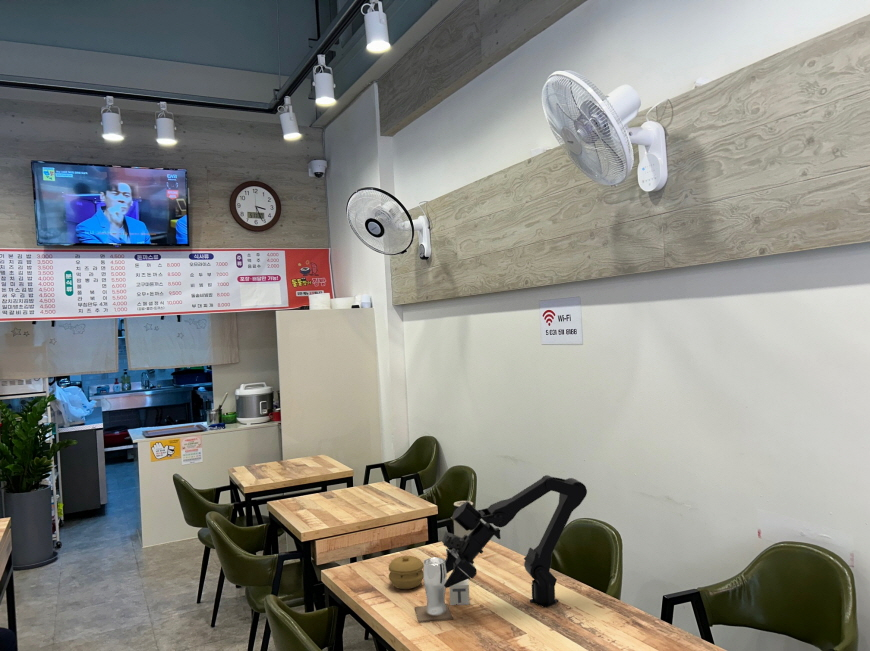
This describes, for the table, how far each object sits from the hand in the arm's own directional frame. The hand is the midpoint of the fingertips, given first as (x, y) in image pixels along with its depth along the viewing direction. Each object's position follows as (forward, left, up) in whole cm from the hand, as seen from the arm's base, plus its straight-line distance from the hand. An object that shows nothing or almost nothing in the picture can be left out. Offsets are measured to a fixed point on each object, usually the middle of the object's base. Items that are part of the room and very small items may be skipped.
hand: (442, 581), depth 193 cm
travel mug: (+37, -43, -10) cm, 58 cm away
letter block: (+3, -9, -9) cm, 14 cm away
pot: (+25, -5, -10) cm, 27 cm away
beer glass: (+1, +2, -9) cm, 9 cm away
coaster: (+2, +3, -9) cm, 10 cm away
